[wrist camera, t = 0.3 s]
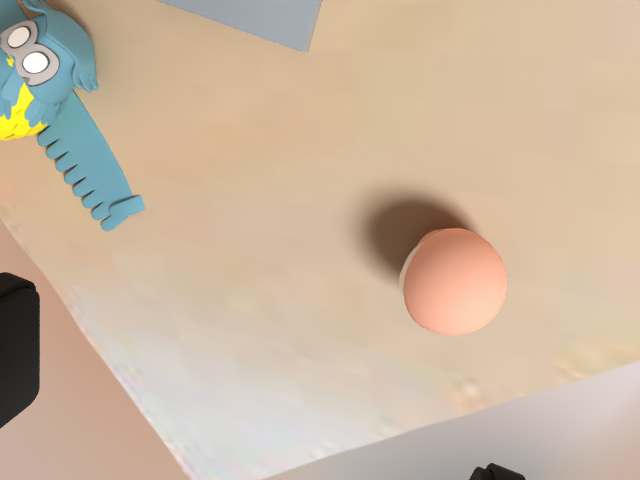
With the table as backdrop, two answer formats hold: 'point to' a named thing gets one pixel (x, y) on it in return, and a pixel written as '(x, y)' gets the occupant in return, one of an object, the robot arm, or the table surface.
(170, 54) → the table surface
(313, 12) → the block
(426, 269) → the toy ball
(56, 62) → the toy parrot figure
